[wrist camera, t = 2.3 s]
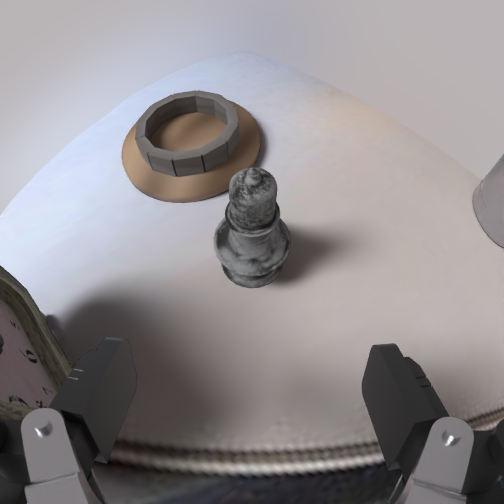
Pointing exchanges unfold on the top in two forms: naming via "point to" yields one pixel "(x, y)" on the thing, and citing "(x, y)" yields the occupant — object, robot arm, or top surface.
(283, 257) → the grey tall piece
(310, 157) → the top surface
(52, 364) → the tabletop clock
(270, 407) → the top surface
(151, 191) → the socket stand
